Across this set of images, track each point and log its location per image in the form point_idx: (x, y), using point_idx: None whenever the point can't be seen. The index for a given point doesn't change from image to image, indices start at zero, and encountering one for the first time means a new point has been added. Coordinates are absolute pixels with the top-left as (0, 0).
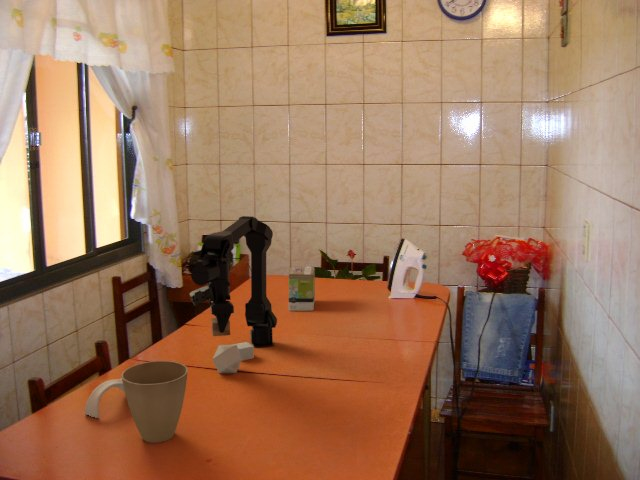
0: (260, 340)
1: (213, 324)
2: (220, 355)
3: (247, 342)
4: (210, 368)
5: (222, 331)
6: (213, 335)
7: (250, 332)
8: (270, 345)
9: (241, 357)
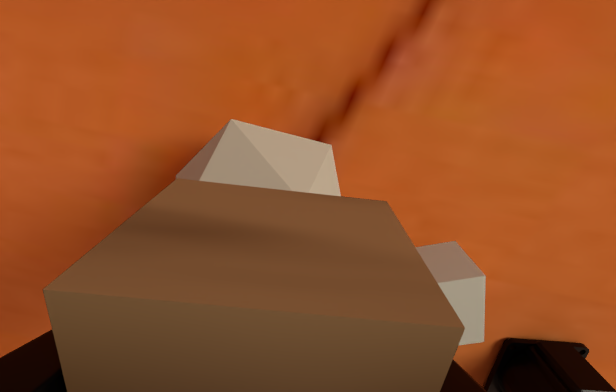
0: (519, 381)
1: (70, 285)
2: (198, 175)
3: (471, 342)
4: (341, 111)
5: None
6: (174, 189)
7: (605, 382)
8: (485, 387)
9: None
